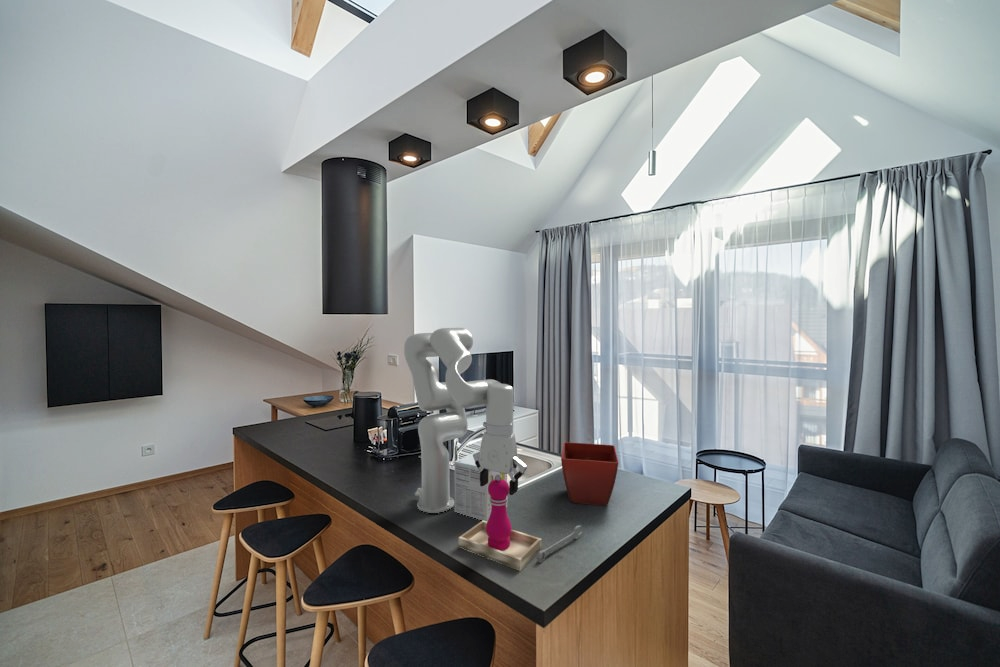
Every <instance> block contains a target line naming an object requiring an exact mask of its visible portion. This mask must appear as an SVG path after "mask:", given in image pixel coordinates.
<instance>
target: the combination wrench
mask: <svg viewBox="0 0 1000 667" xmlns="http://www.w3.org/2000/svg"><path fill="white" fill-rule="evenodd" d="M581 527H582V525H576V526H575V527H574V528H573V531H572V532H571V533H570V534H569V535H567V536H565V537H564V538H562V539H559V541H557V542H555V543H553V544H551V545H550V546H549V547H547V548H545V549H541V550H540V551H539V553H538V554H537V555H536V560H537V562H539V563H543V561H545V559H546V557H547V556H549V555H550V554H552V553H553V552H555V551H556V550H558V549H559V548H560V547H562V546H564V545H566V543H567V544H568V542H570V541H571V540H578V539H580V538H581V536H582V534H583V531H579V530H580V529H581Z"/></svg>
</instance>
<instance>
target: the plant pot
mask: <svg viewBox="0 0 1000 667" xmlns="http://www.w3.org/2000/svg"><path fill="white" fill-rule="evenodd" d="M560 461H561V468H562V470H561V471H562V474H563V480H564V484H565V488H566V491H567V496H568V498H569V501H570V503H573V504H582V505H594V506H604V507H605V506H608V505H609V501H610V500H611V496H612V494H613V491H614V489H615V488H614V487H615V483H616V478H617V474H618V469H619V459H618V455H617V451H616V447H615V444H614V445H611V444H602V443H601V444H600V443H585V442H584V443H583V442H568V441H567V442H563V444H562V451H561V457H560Z"/></svg>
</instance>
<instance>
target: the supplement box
mask: <svg viewBox="0 0 1000 667" xmlns="http://www.w3.org/2000/svg"><path fill="white" fill-rule="evenodd" d="M479 451H480V450H479ZM479 451H478V450H476V451H474V452H472V453H470V454H468V455H465V456H463V457H461V458H459V459H457V460H455V461H454V513H455V512H457V513H460V514H459V515H461V514H463V515H462V516H464V515H466V516H465V517H467V516H470V517H473V518H472V519H474V518H476V519H475V520H477V519H479V520H478V521H480V520H484V521H487V522H488V519H489V517H490V514H491V508H492V506H491V503H490V495H489V493H488V486H489V484H490V482H491V481H493V480H495V479H496V475H497V474H500V475H501V476H502V479H503V480H505V481H506V482H507V483H508V474H503V473H499V472H495V471H492V470H488V483H487V484H486V485H484V486H480V472H479V471H478V467H477V466H476V464H475V461H474V458H473V454H474V453H477V452H479ZM506 508H508V503H507V504H506ZM457 513H456V514H457ZM470 517H469V518H470Z"/></svg>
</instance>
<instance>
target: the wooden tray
mask: <svg viewBox="0 0 1000 667" xmlns="http://www.w3.org/2000/svg"><path fill="white" fill-rule="evenodd" d="M486 525H487V521H484V520H482V521H479V523H477V524H475V525H474V526H473V527H471V528H470V529H469V530H467V531H466V532H465V533H463V534H461V535H460V536H458V548H459V547H462V548H464V549H466V550H469V551H472V552H474V553H476V554H479V555H481V556H484V557H486V558H489V559H492V560H494V561H497V562H499V563H502V564H504V565H503V566H505V565H506V566H505V567H507V566H509V567H508V568H510V567H512V568H511V569H513V568H514V569H513V570H515V569H516V570H515V571H518V570H519V571H518V572H521V571H522V570H523V569H524V568H525V567H526V566H527V565H528V564H529V563H530V562H531V561H532V560H533V559H534V558H535V557H537V555H538V553H539V551H541V550H543V549H542V544H543V543H542V540H543V539H542V538H540V537H537V536H534V535H531V534H528V533H525V532H522V531H518V530H515V529H512V532H511V534H510V536H509V537H510V546H509V547H508V548H507V549H505V550H497V549H494V548H491V547H489V546H488V537H489V536H488V535H487V533H486ZM476 554H475V555H476ZM481 556H480V557H481ZM486 558H485V559H486ZM489 559H488V560H489ZM494 561H493V562H494ZM497 562H496V563H497ZM499 563H498V564H499ZM502 564H501V565H502Z"/></svg>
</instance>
